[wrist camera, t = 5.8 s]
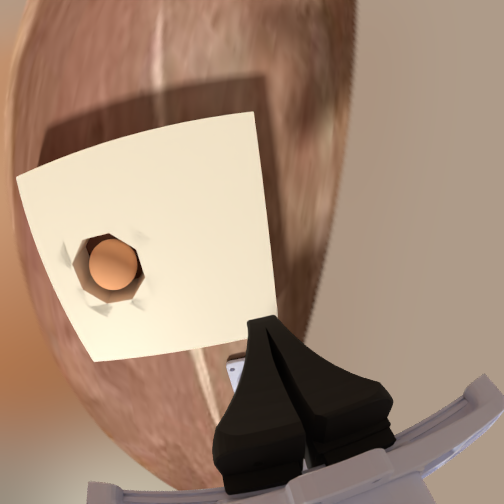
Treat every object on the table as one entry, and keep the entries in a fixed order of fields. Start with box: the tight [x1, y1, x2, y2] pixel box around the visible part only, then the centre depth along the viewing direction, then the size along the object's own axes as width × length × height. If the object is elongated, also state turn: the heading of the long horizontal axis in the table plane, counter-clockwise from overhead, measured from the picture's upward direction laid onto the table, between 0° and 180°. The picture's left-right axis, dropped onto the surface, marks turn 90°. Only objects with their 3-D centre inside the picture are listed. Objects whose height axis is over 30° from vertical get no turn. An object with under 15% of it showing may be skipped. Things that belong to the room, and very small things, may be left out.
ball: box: [89, 239, 137, 290], centre depth 18 cm, size 4×4×4 cm
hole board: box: [16, 111, 278, 362], centre depth 19 cm, size 16×16×3 cm
